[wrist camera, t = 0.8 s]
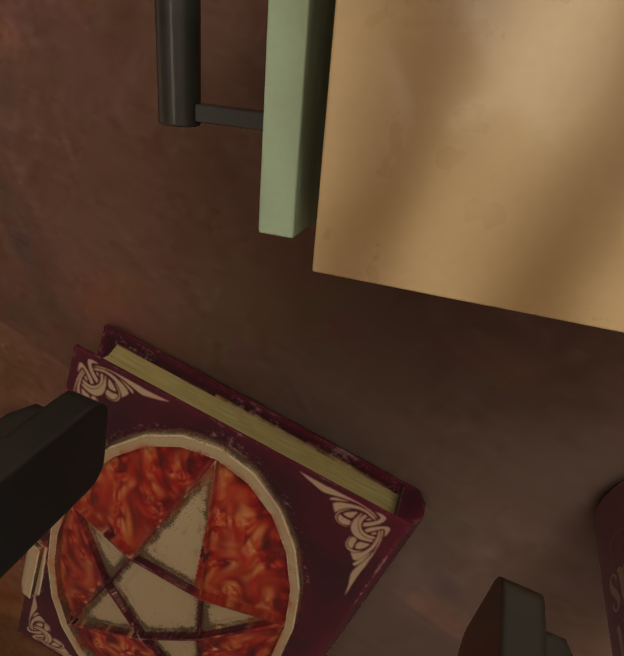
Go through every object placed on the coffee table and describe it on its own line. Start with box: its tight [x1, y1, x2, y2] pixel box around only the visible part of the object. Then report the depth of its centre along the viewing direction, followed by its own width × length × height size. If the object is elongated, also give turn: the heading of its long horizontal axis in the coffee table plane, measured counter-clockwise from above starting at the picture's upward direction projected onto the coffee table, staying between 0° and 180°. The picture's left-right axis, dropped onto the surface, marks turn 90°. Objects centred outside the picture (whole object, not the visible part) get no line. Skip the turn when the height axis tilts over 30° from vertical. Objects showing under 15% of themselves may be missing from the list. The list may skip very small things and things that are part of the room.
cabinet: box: [312, 0, 624, 333], centre depth 17 cm, size 15×13×10 cm
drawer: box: [155, 0, 336, 238], centre depth 18 cm, size 19×12×8 cm, turn 85°
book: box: [18, 324, 425, 656], centre depth 38 cm, size 28×21×5 cm
